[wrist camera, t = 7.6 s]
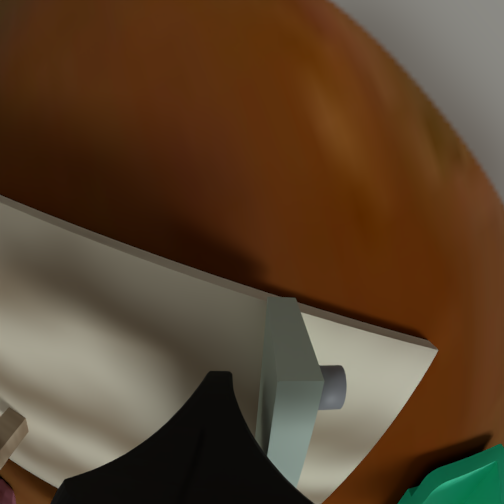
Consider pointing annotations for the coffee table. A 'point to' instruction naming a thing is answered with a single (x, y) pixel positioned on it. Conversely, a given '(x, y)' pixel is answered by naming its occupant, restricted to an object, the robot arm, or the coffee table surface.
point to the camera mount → (463, 481)
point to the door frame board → (160, 353)
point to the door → (292, 388)
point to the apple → (6, 493)
